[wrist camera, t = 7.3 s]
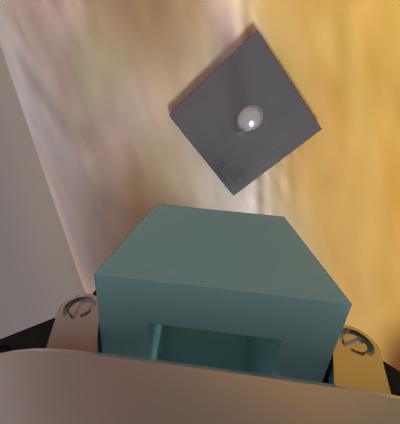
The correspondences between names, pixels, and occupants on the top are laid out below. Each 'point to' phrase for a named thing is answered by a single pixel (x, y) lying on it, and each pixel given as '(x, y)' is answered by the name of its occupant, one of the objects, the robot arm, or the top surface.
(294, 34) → the top surface
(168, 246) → the collar
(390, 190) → the top surface
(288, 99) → the shaft stand
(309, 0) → the top surface
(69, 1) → the top surface
